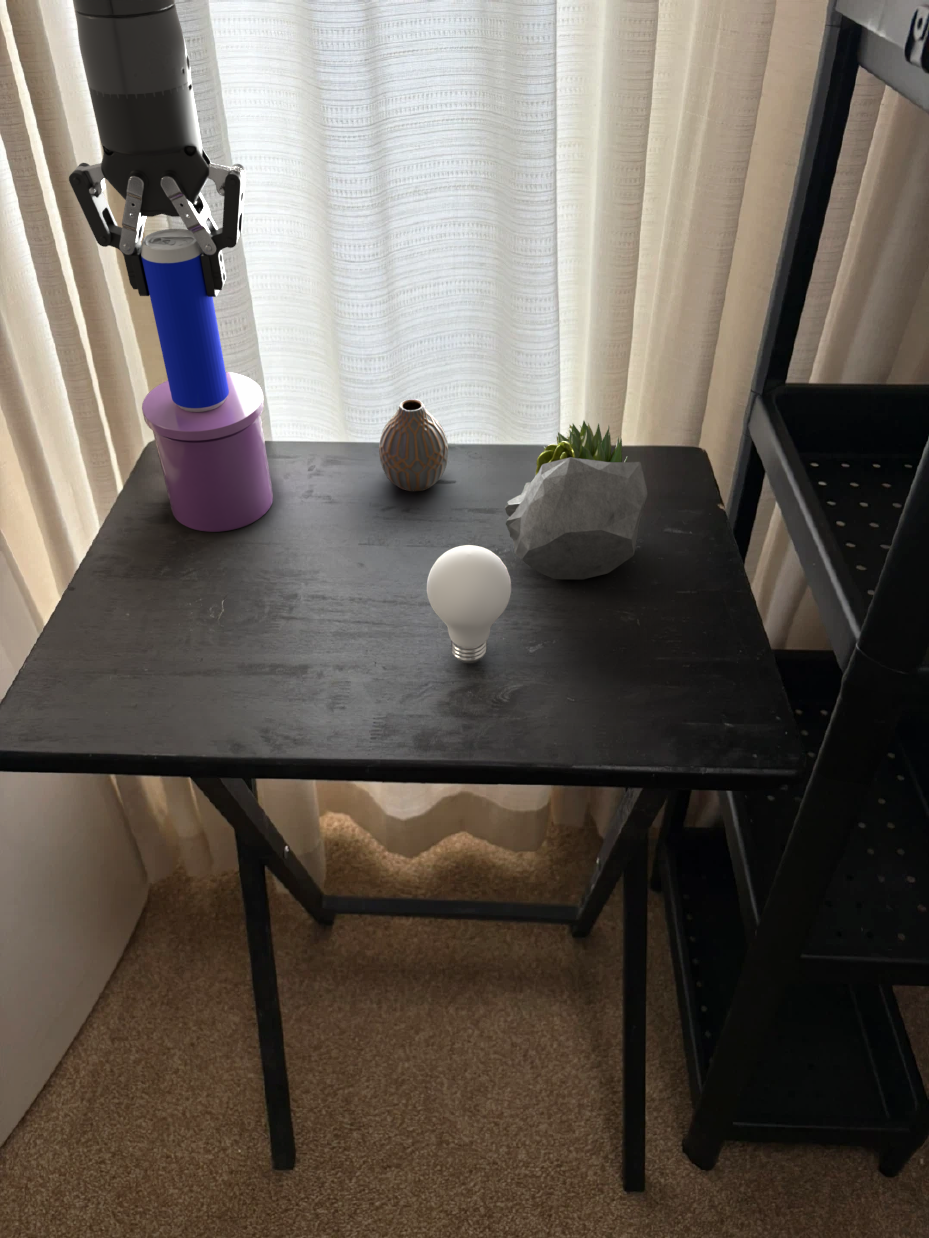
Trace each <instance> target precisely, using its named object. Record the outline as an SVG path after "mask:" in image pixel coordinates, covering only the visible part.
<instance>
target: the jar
mask: <svg viewBox="0 0 929 1238" xmlns="http://www.w3.org/2000/svg"><path fill="white" fill-rule="evenodd" d="M225 372H226V377H227V383H228V389H229V394H228V396H227V398H226V400H225V401H224V403H223V404H222V405H220V406H219V407H217V408H215V409H213V410H210V411H205V412H190V411H186V410H183V409H181V408H180V407H179V406H178V405H176V404H175V403H174V402H173V400H172V396H171V392H170V387H169V382H168V379H167V380H165V381H163V382H162V383H159V384H158V385H156V386H155V387H153V388H152V389H151V390H150V391H149V392H148V393H147V394H146V395H145V397H144V398H143V401H142V403H141V411H142V416H143V420H144V422H145V424H146V426H147V427H148V428H149V429H150V430H151V431H152V434H153V438H154V442H155V446H156V450H157V454H158V455H157V456H158V458H159V462H160V467H161V471H162V475H163V479H164V485H165V488H166V493H167V497H168V501H169V505H170V510H171V514H172V515H173V517H174V518H175V520H176V521H178V522H179V523H180V524H181V525H183V526H184V527H187V528H189V529H192V530H195V531H200V532H211V533H215V532H217V533H219V532H228V531H233V530H236V529H237V530H238V529H240V528H243V527H246V526H248V525H251V524H252V523H254V522H256V521H258V520H259V519H262V517H263V516H264V515H265V514H267V513H268V511H269V510H270V508H271V506H272V504H273V503H274V502H273V501H274V492H273V485H272V479H271V472H270V467H269V460H268V454H267V447H266V441H265V433H264V429H263V428H264V427H263V420H262V413H263V411H264V408H265V399H264V393H263V389H262V388H261V386H260V385H259V384H258V383H257V382H256V381H255V380H254V379H252V378H250V377H248V376H246V375H243V374H239V373H236V372H231V371H225Z"/></svg>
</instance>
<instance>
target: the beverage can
mask: <svg viewBox="0 0 929 1238" xmlns="http://www.w3.org/2000/svg"><path fill="white" fill-rule="evenodd" d="M141 245H142V247H141V257H142V262H143V266H144V271H145V276H146V280H147V285H148V289H149V294H150V295H149V298H150V304H151V306H152V307H151V308H152V313H153V318H154V322H155V326H156V332H157V337H158V340H159V345H160V350H161V354H162V359H163V364H164V368H165V373H166V377H167V380H168V382H169V387H170V392H171V396H172V400H173V402H174V403H175V404H176V405H178V406H179V407H180V408H181V409H183V410H186V411H190V412H205V411H210V410H213V409H215V408H217V407H219V406H220V405H222V404H223V403H224V401H225V400H226V398H227V396H228V394H229V389H228V383H227V377H226V372H227V371H226V366H225V359H224V354H223V348H222V344H221V337H220V333H219V332H220V331H219V325H218V319H217V315H216V309H215V302H214V297H208V295H207V291H206V285H205V279H204V274H203V268H202V262H201V257H200V256H201V254H202V252H203V251H202V249H201V247H200V245H199V244H198V242H197V240H196V239H195V237H194V235H193V233H192V232H191V231H189V230H188V229H187V228H166V229H165V228H164V229H161V230H160V229H159V230H156V231H153V232H151V233H149V234H147V235H146V236H144V238H142V240H141Z"/></svg>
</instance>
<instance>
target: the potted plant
mask: <svg viewBox="0 0 929 1238" xmlns="http://www.w3.org/2000/svg"><path fill="white" fill-rule="evenodd" d="M600 427H601V426H600V423H599V422H598V423H597V426H596V430H595V433H594V432H593V429H592V427H591V426H590V423H589V422H587V423H586V421H585V420H583V421H582V424H579V428H580V430H579V429H578V428H577V426H576V425H575V424H574V423H572V424H569V428H567V431H566V436H565V434H561V433H560V432H559V431H557V435H556V443H551V444H548V445H546V447H545V446H543V451H542V452H541V453H540V454H539V455H538V456H537V459H536V463H535V464H536V468H535V476H534V478H533V479H532V481H531V482H528V481H527V482H525V485H524V487H523V489H522V492H521V494H519V495H517V496H514V497H513V498H511V499H509V500H507V501H506V504H505V507H504V510H505V513H506V515H507V516H508V519H507V520H506V521H505V526H506V528H507V530H508V532H509V537H510V538H511V539H512V543H513V544H512V545H513V550H514V555H515V556H516V557H517V558H519V559H520V560H521V561H522V562H524V563H525V564H527V566H529V567H531V568H532V569H533V570H535V571H536V572H538V573H540V574H542V575H544V576H546V577H548V578H550V579H552V580H587V579H590V578H594V577H599V576H602V575H606V574H607V575H608V574H609V573H611V572H612V571H614V570H615V569H617V568H618V567H619V566H621V565H622V564H624V563H625V562H626V561H628V560H630V559H632V558H633V557H634V556H635V551H636V545H637V540H638V534H639V528H640V522H641V519H642V516H643V513H644V511H645V507H646V502H647V498H648V494H649V493H648V490H647V485H646V480H645V475H644V472H643V467H642V463H641V461H628V456H626V457H625V460H624V461H623V440H622V437H620V438H619V437H617V438H616V444H615V445H616V446H615V448H614V449H613V450H612V440H611V432H610V425H607V430H606V431H605V434H604V436H603V438H602V432H601V428H600Z"/></svg>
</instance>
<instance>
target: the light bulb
mask: <svg viewBox="0 0 929 1238" xmlns="http://www.w3.org/2000/svg"><path fill="white" fill-rule="evenodd" d="M426 581H427V582H426V593H427V598H428V599H427V600H428V602H429V604H430V606H431V609H432V610H433V612H434V613H435V614H436V615H437V617H438V618H439V619H440V620H441V621H442V622H443V623H444V624H445V626H446V627H447V633H448V636H449V639H450V646H451V648H450V650H451V654H452V656H453V657H454V658H455V659H456V660H457V661H459V662H461V663H464V664H475V663H477V662H480V661H481V660H482V659H483V658H484V657H485V655H486V653H487V650H488V639H489V637H490V633H491V628H492V626H493V625H494V624H495V622H496V621H497V620H498V619H499V617H500V616H501V615H502V614H504V612H505V610H506V608H507V606H508V604H509V602H510V598H511V595H512V583H511V582H512V581H511V576H510V573H509V570H508V568H507V566H506V565H505V564H504V562H503V561H502V559H501V558H500V556H498V555H497V554H495V553H494V552H493V551H491V550H490V549H488V548H485V547H483V546H478V545H472V544H466V545H465V544H464V545H459V546H455V547H453V548H450V549H448V550H446V551H445V552H444V553H443V554H441V555H440V556H439V557H438V558H437V559H436V561H435V562H434V564H433V565H432V567H431V568H430V570H429V573H428V577H427V580H426Z"/></svg>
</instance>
